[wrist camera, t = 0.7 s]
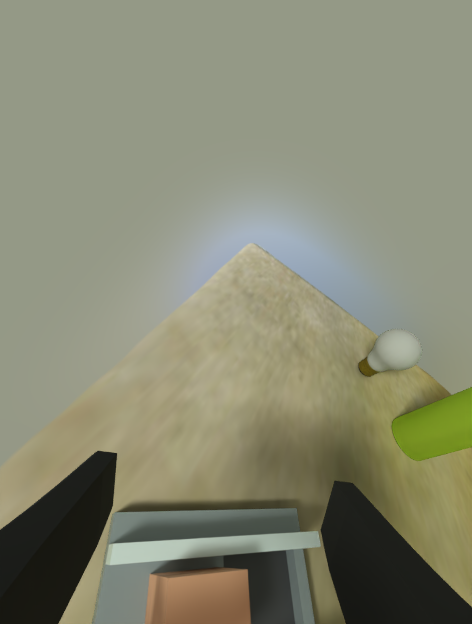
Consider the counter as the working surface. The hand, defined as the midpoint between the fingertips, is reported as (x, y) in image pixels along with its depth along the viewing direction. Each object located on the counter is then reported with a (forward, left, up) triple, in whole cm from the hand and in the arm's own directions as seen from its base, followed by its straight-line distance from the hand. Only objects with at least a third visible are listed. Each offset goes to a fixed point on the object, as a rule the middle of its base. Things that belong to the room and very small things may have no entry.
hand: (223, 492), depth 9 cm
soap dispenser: (+9, -37, -18) cm, 43 cm away
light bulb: (+19, -32, -18) cm, 42 cm away
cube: (-5, -4, -16) cm, 18 cm away
